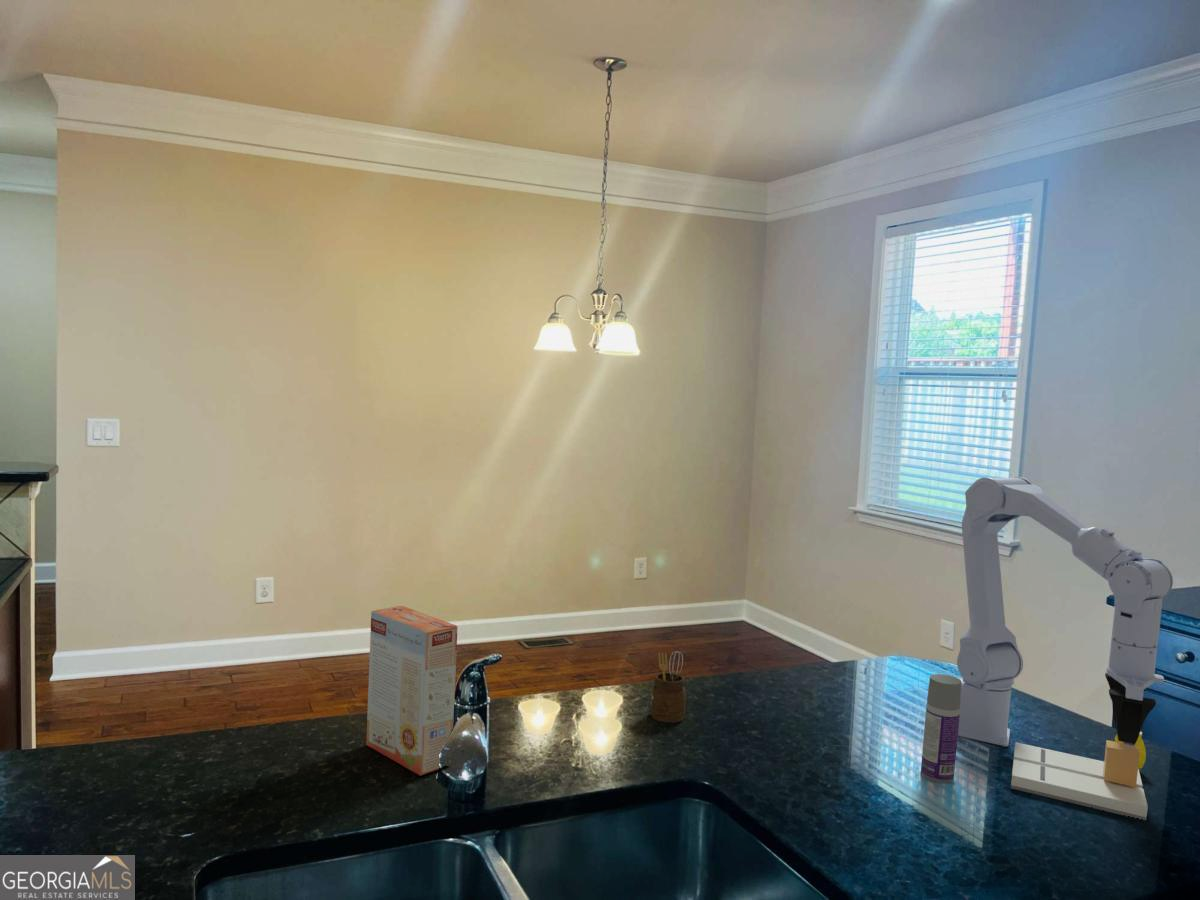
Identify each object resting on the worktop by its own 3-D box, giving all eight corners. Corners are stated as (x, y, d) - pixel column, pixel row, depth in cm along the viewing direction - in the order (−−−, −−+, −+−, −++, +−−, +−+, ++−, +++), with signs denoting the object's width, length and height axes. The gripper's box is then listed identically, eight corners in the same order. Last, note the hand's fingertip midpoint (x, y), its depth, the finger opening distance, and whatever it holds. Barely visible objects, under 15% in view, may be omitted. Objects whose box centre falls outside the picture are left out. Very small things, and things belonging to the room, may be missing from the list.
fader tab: (1102, 790, 126) (1107, 747, 126) (1101, 782, 129) (1106, 739, 128) (1134, 797, 124) (1139, 753, 124) (1133, 789, 127) (1137, 746, 126)
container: (952, 772, 131) (961, 676, 130) (954, 785, 127) (963, 686, 125) (920, 766, 133) (928, 671, 131) (920, 779, 128) (929, 681, 127)
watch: (1147, 776, 135) (1153, 740, 134) (1130, 775, 134) (1135, 739, 134) (1124, 756, 140) (1129, 722, 140) (1107, 755, 140) (1112, 721, 140)
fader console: (1010, 788, 127) (1012, 774, 127) (1014, 754, 139) (1015, 741, 139) (1146, 820, 119) (1147, 806, 119) (1137, 781, 131) (1138, 768, 131)
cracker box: (454, 766, 124) (460, 624, 123) (419, 778, 120) (425, 631, 118) (398, 735, 134) (403, 603, 132) (364, 745, 129) (369, 609, 128)
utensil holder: (690, 716, 148) (695, 647, 147) (673, 727, 143) (678, 656, 142) (660, 707, 151) (664, 640, 150) (642, 718, 146) (646, 649, 145)
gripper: (1173, 660, 117) (1162, 757, 118) (1160, 635, 129) (1151, 722, 131) (1113, 650, 120) (1103, 745, 121) (1106, 626, 133) (1097, 712, 134)
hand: (1124, 732), depth 126 cm, fingers open, 7 cm apart
